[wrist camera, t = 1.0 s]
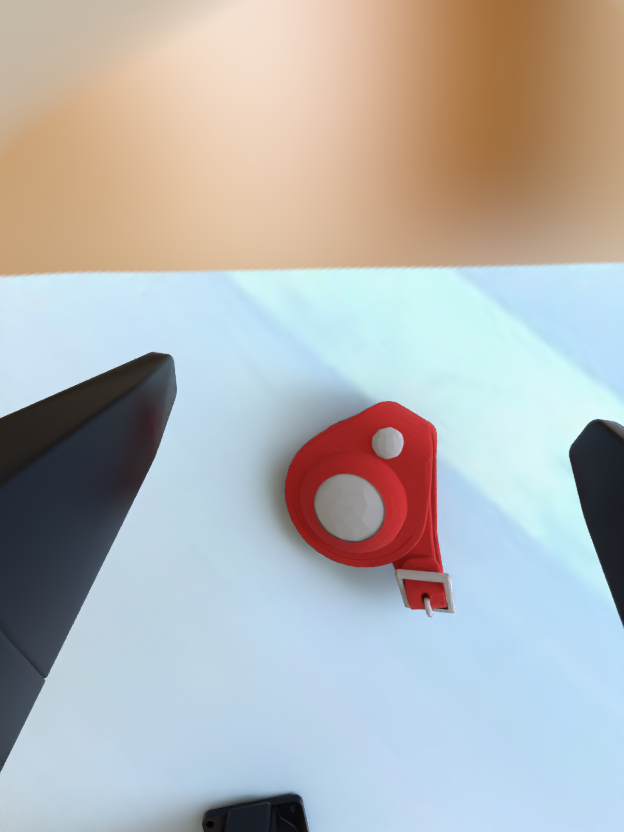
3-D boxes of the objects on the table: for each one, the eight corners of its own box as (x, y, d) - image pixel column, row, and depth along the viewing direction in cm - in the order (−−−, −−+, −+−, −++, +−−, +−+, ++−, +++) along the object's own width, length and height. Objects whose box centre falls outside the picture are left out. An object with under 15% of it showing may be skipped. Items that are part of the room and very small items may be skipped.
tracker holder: (250, 527, 23) (331, 377, 20) (279, 497, 27) (350, 369, 24) (439, 657, 21) (563, 513, 18) (438, 603, 25) (539, 479, 22)
